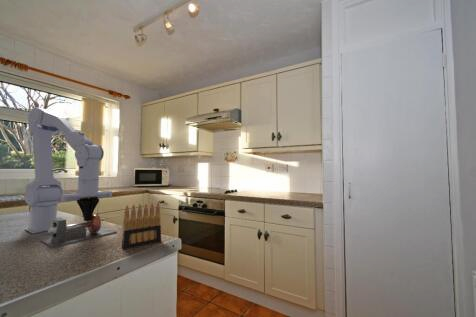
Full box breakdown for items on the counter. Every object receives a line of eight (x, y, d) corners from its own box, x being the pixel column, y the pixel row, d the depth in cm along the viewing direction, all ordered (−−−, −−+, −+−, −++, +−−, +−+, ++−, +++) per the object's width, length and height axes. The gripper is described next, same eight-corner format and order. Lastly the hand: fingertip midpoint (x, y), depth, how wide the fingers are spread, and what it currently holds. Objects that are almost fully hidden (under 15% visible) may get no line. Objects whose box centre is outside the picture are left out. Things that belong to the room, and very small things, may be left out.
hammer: (44, 240, 68) (45, 220, 68) (95, 229, 79) (95, 212, 79) (51, 244, 64) (51, 222, 64) (103, 232, 75) (103, 214, 76)
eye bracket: (40, 241, 68) (41, 218, 69) (103, 228, 83) (103, 210, 83) (51, 247, 63) (52, 223, 63) (116, 232, 77) (117, 213, 78)
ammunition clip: (123, 249, 62) (124, 206, 62) (121, 247, 63) (122, 205, 64) (161, 241, 68) (162, 202, 69) (159, 240, 70) (159, 201, 70)
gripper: (67, 181, 67) (65, 227, 66) (116, 179, 79) (115, 218, 78) (59, 180, 71) (57, 223, 70) (107, 178, 83) (106, 215, 82)
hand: (87, 220), depth 74 cm, fingers closed
